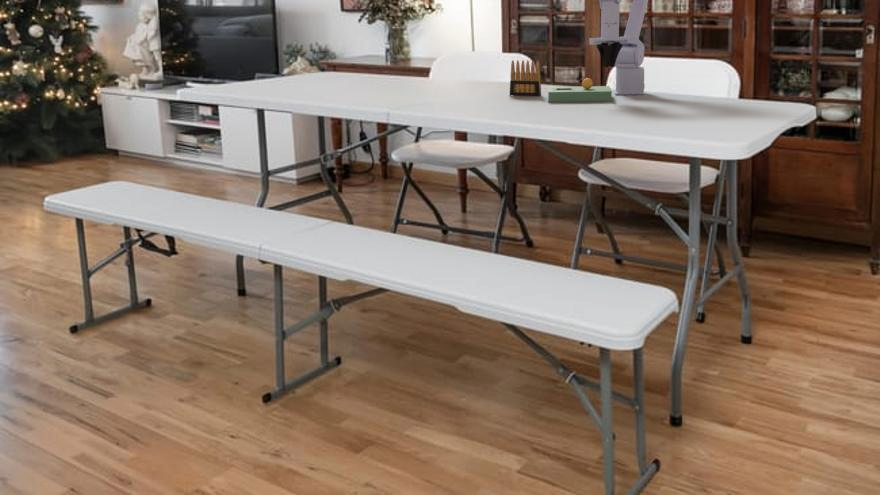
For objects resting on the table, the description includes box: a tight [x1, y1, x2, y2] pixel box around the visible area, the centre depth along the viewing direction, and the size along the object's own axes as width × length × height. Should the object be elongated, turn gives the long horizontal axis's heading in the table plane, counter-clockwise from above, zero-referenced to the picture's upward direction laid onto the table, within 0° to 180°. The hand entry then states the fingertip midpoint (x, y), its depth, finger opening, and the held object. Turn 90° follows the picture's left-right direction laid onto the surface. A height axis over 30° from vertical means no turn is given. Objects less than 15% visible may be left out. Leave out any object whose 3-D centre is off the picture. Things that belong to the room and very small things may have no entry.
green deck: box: [547, 85, 613, 103], centre depth 325 cm, size 20×14×3 cm
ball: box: [581, 77, 594, 89], centre depth 324 cm, size 4×4×4 cm
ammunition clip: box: [509, 59, 542, 97], centre depth 336 cm, size 11×2×12 cm, turn 67°
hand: (608, 66), depth 321 cm, fingers closed
